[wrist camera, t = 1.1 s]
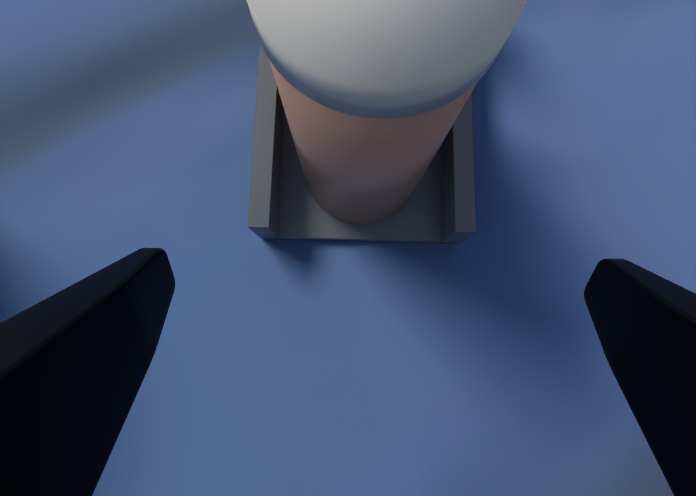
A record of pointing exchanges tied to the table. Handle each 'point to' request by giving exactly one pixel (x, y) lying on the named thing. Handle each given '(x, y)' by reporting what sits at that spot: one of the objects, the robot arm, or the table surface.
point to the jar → (376, 88)
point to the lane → (315, 224)
